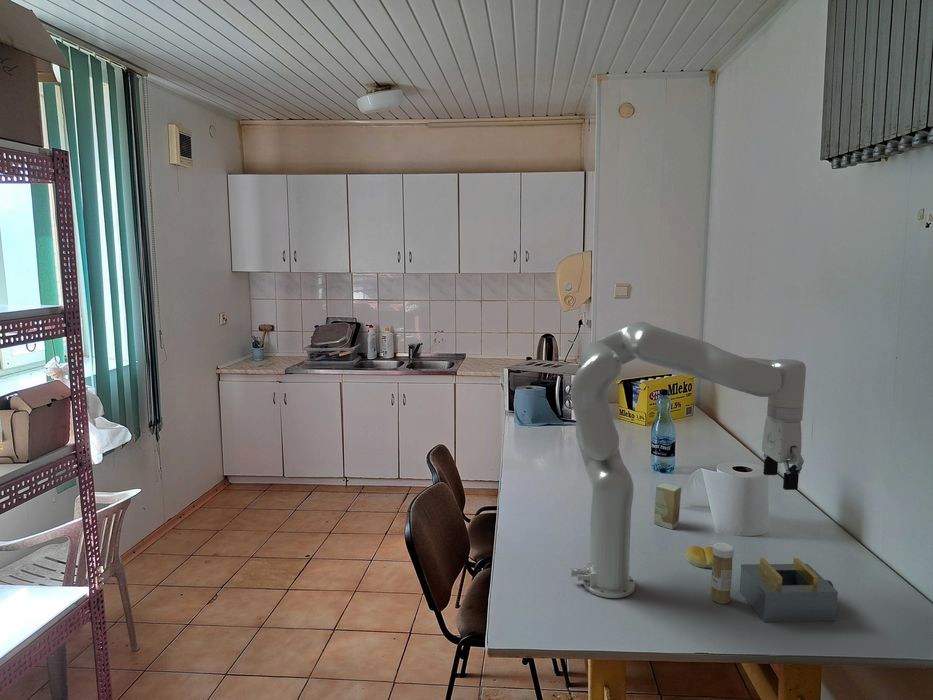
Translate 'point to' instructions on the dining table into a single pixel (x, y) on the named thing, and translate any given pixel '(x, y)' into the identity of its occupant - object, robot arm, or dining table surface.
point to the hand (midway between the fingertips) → (779, 481)
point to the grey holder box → (788, 592)
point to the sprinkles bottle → (721, 572)
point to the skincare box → (667, 505)
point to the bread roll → (700, 556)
